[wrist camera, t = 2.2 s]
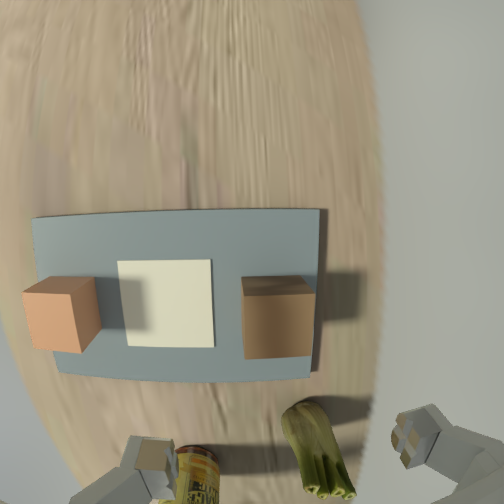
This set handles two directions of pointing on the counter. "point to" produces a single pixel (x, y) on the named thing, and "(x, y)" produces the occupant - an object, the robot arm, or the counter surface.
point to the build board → (177, 287)
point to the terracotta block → (62, 313)
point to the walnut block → (276, 316)
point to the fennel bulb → (316, 451)
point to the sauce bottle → (196, 477)
